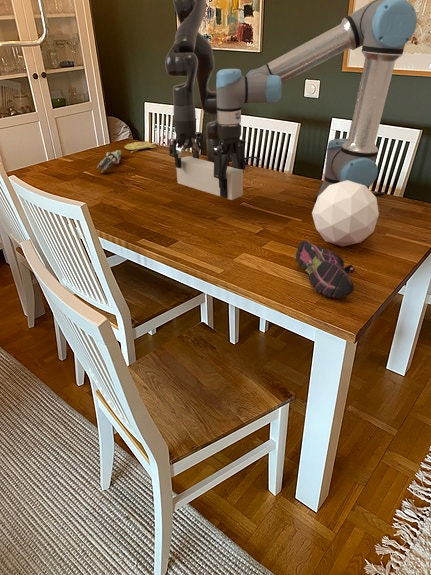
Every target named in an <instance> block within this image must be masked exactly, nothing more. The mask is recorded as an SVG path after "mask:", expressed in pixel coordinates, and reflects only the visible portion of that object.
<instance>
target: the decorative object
mask: <svg viewBox="0 0 431 575" xmlns="http://www.w3.org/2000/svg"><path fill="white" fill-rule="evenodd" d="M148 148H151V149H153V148H157V142H155V141H153V142H147V141H136V142H130V143H126V144H125V145H124V149H126V150H130V154H132V153H134V152H137V151H139V150H143V149H148Z"/></svg>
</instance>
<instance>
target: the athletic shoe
mask: <svg viewBox="0 0 431 575" xmlns="http://www.w3.org/2000/svg"><path fill="white" fill-rule="evenodd" d="M295 261H296V263H297V265H298V267H299V268H301V269H302V271H305V272H307V273H308V276H309V277H308V279H309V282H310V284H311V286H312V287H313V288H315V289H314V290H315V291H316V292H318V294H320V295H322V296H325V297H327V298H333V299H339V298H343V297H348V296H350V295H351V294H353V292H354V290H355V286H354V283H353V281H352V279H351V277H350V276H349V274H353V273H357V271H356V270H355V267H354V266H353V265H352V264H349V265H347V266H345V261H344V259H343V258H342V256H340V255H339V254H337V253H335V252H334V251H331V250H329V249H326V248H323V247H320V246H318V245H315V244H313V243H312V242H310V241H308V240H301V242H299V245H298V247H297V251H296V252H295Z"/></svg>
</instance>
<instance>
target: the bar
mask: <svg viewBox="0 0 431 575" xmlns="http://www.w3.org/2000/svg"><path fill="white" fill-rule="evenodd" d="M180 158H181V165H182V167H181V168H177V167H176V166H175V167H176V181H177V184H179V185H182V186H186V187H188V188H191V189H195V190H198V191H202V192H204V193H208V194H211V195H214V196H218V197H221V196H220V188H219V179H218V178H215V177H214V163H213V162H209V161H207V160H205V159H201V158H199V159H197V158H193V156H189V155H186V156H183V157H180ZM243 171H244V170H241V169H237V168H234V167H233V166H230V165H229V166H227V171H226V177H225V178H226V179H227V198H226V199H227V200H231V201H233V200H236V199H238V198H241V197H242V196H244V172H243ZM221 198H222V197H221Z"/></svg>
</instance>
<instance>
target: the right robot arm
mask: <svg viewBox="0 0 431 575" xmlns="http://www.w3.org/2000/svg"><path fill="white" fill-rule="evenodd" d="M417 24H418V16H417V12H416V9H415V8H414V5H413V4H412V3H411V2H410V1H408V0H371V1H370V2H368V3H367V4H365V5H363V6H362V7H360V8H359V9H357V10H356V11H354V12H352V13H350V14H349V15H347V16H345V17H344V18H342V20H341V23H340V24H338V25H336V26H335V27H332V28H331V29H328V30H327V31H325V32H323V33H321V34H320V35H318V36H316V37H314V38H312V39H310V40H308V41H307V42H304V43H302V44H301V45H299V46H297V47H295V48H293V49H292V50H290V51H288V52H285V53H284V54H283V55H280V56H279V57H276V58H275V59H273V60H271V61H269V62H267V63H266V64H264V65H262V66H260V67H259V68H254V69H251V70H249V71H248V72H247V74H246V75H243V74H242V71H241V69H240V68H223V69H220V70H218V71H217V72H216V84H215V85H216V86H215V87H216V88H215V91H216V92H217V114H216V119H217V123H218V124H219V125H218V137H219V138H220V142H219V146H217V147H213V153H214V177H215V178H218V179H219V188H220V196H221V198H224V199H227V179H226V178H225V177H226V171H227V166H228V160H229V158H230V156H231V158H232V162H231V163H232V167H233V168H237V169H241V170H243V173H244V170H246V164H245V161H246V160H245V158H246V142H247V140H245V139H241V136H242V125H241V123H242V104H262V103H263V104H267V103H268V104H270V103H277V102H279V101H280V100H281V97H282V84H284V83H286V82H288V81H289V80H291V79H294V78H295V77H297V76H299V75H301V74H303V73H305V72H308V71H309V70H311V69H313V68H315V67H316V66H319V65H320V64H322V63H324V62H326V61H328V60H330V59H332V58H334V57H336V56H338V55H340V54H341V53H343V52H345V51H347V50H352V51H354V50H357V49H358V48H360V47H362V48H361V53H362V55H363V57H364V63H363V67H362V72H361V76H360V82H359V85H358V90H357V96H356V100H355V104H354V110H353V114H352V118H351V123H350V128H349V132H348V137H347V138H332V139H331V140H329V141H328V144H327V148H326V158H325V168H324V178H323V182H322V183H320V184H318V189H319V191H318V193H317V195H316V196H317V198H318V196H319V195H320V194H321V193H322V192H323V191H324V190H325V189H326V188H327V187H328V186H329V185H332V184H335V183H339V182H343V181H347V180H349V181H352V182H355V183H358V184H362V185H365V186H366V187H367V188H369V187H371V186H372V185H373V184H374V183H375V181H376V179H377V177H378V175H379V174H378V172H379V169H378V165H377V163H376V160H377V156H378V152H379V148H378V147H377V145H376V140H377V136H378V131H379V128H380V125H381V120H382V117H383V112H384V108H385V103H386V100H387V96H388V92H389V88H390V83H391V81H392V77H393V76H392V75H393V71H394V69H395V63H396V61H397V60H399V58H401V57H402V56H403V54H404V50H405V46H406V44H407V43H408V42H409V41H410V40H411V38H412V37H413V35H414V33H416V32H415V31H416V28H417ZM224 154H226V155H224ZM372 193H373V195H374V196H380V195H385V191H380V192H372ZM220 196H219V197H220ZM317 198H316V199H317Z"/></svg>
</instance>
